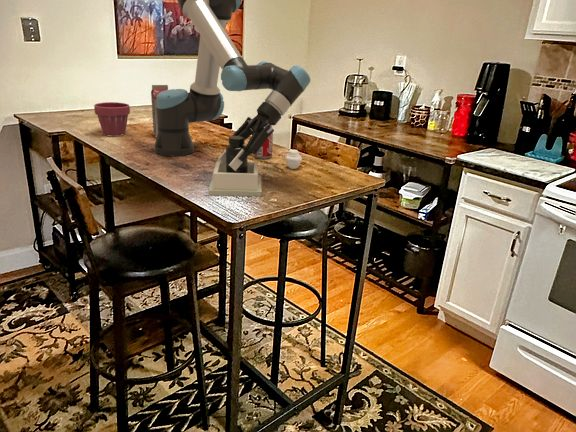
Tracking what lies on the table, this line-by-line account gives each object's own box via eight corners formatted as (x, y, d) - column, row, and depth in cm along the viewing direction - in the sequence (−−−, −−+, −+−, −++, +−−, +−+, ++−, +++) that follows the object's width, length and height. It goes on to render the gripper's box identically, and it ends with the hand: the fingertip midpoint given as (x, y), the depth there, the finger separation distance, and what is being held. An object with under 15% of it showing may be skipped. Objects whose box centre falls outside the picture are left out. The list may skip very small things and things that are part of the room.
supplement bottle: (226, 171, 150) (226, 134, 146) (247, 171, 151) (248, 135, 146) (225, 177, 144) (225, 139, 139) (247, 178, 145) (248, 140, 140)
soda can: (269, 160, 179) (271, 126, 174) (251, 158, 180) (252, 125, 175) (273, 155, 186) (275, 123, 181) (256, 153, 187) (257, 121, 182)
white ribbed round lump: (296, 171, 168) (297, 152, 165) (281, 168, 171) (282, 149, 168) (304, 167, 173) (305, 149, 170) (290, 164, 176) (291, 146, 173)
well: (208, 195, 141) (208, 174, 139) (213, 178, 156) (213, 159, 154) (261, 196, 143) (262, 176, 140) (261, 179, 157) (261, 161, 155)
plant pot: (129, 129, 213) (127, 101, 208) (133, 137, 202) (131, 107, 197) (96, 131, 208) (93, 102, 203) (98, 138, 196) (94, 107, 191)
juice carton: (153, 134, 207) (150, 84, 198) (168, 134, 209) (166, 83, 201) (156, 138, 201) (153, 86, 193) (171, 137, 204) (169, 86, 195)
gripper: (297, 122, 141) (249, 180, 139) (264, 111, 156) (220, 163, 154) (283, 106, 137) (233, 166, 134) (250, 95, 152) (205, 149, 149)
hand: (226, 164), depth 144 cm, fingers closed on supplement bottle, 7 cm apart
